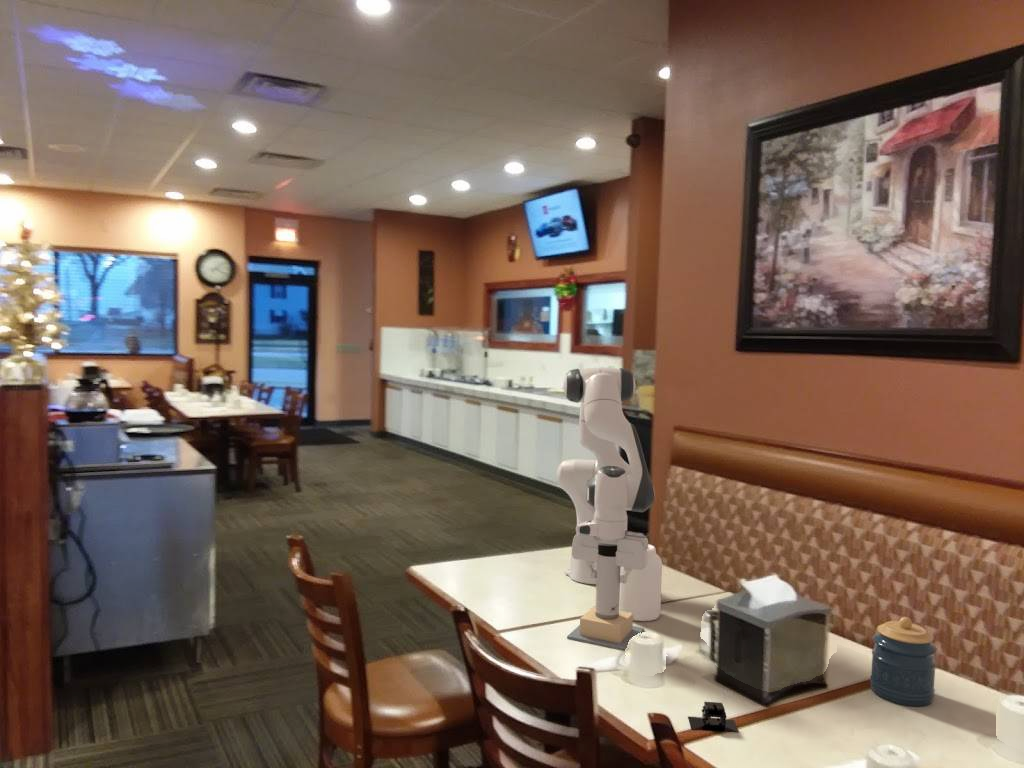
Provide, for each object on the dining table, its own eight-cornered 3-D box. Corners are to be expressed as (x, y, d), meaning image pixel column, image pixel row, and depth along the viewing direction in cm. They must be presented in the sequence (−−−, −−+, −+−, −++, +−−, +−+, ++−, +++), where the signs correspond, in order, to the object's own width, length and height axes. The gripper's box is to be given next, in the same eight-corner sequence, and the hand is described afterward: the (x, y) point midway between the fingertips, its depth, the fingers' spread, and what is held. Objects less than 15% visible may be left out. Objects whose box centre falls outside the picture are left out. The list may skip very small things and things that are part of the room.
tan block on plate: (588, 619, 214) (589, 601, 214) (644, 630, 207) (644, 611, 207) (567, 638, 200) (567, 619, 199) (626, 650, 193) (626, 631, 192)
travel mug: (619, 620, 200) (622, 545, 198) (594, 618, 201) (596, 543, 200) (620, 612, 206) (623, 539, 205) (596, 610, 207) (598, 537, 206)
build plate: (685, 734, 153) (686, 711, 153) (680, 716, 161) (680, 695, 160) (748, 737, 153) (749, 715, 152) (740, 720, 160) (741, 698, 160)
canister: (860, 680, 180) (864, 606, 179) (916, 682, 179) (920, 608, 178) (885, 706, 167) (889, 627, 166) (945, 709, 166) (950, 629, 165)
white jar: (668, 614, 220) (671, 546, 218) (644, 625, 210) (647, 554, 209) (632, 603, 228) (634, 537, 227) (607, 613, 219) (609, 544, 218)
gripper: (651, 531, 200) (649, 583, 201) (578, 521, 209) (577, 571, 210) (645, 536, 195) (643, 590, 195) (570, 526, 203) (568, 577, 204)
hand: (608, 580), depth 203 cm, fingers open, 7 cm apart
